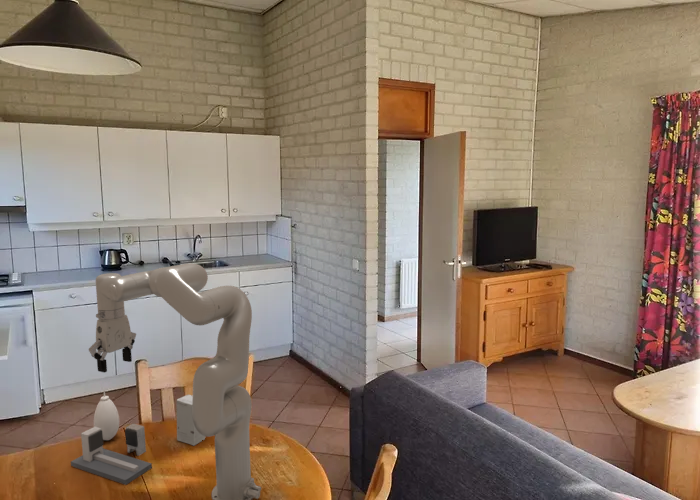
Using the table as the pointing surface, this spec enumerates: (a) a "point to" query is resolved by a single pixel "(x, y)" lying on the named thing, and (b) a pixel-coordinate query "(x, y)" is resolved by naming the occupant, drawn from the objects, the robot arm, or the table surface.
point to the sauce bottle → (106, 417)
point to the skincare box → (186, 422)
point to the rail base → (107, 460)
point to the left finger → (135, 438)
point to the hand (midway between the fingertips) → (115, 366)
